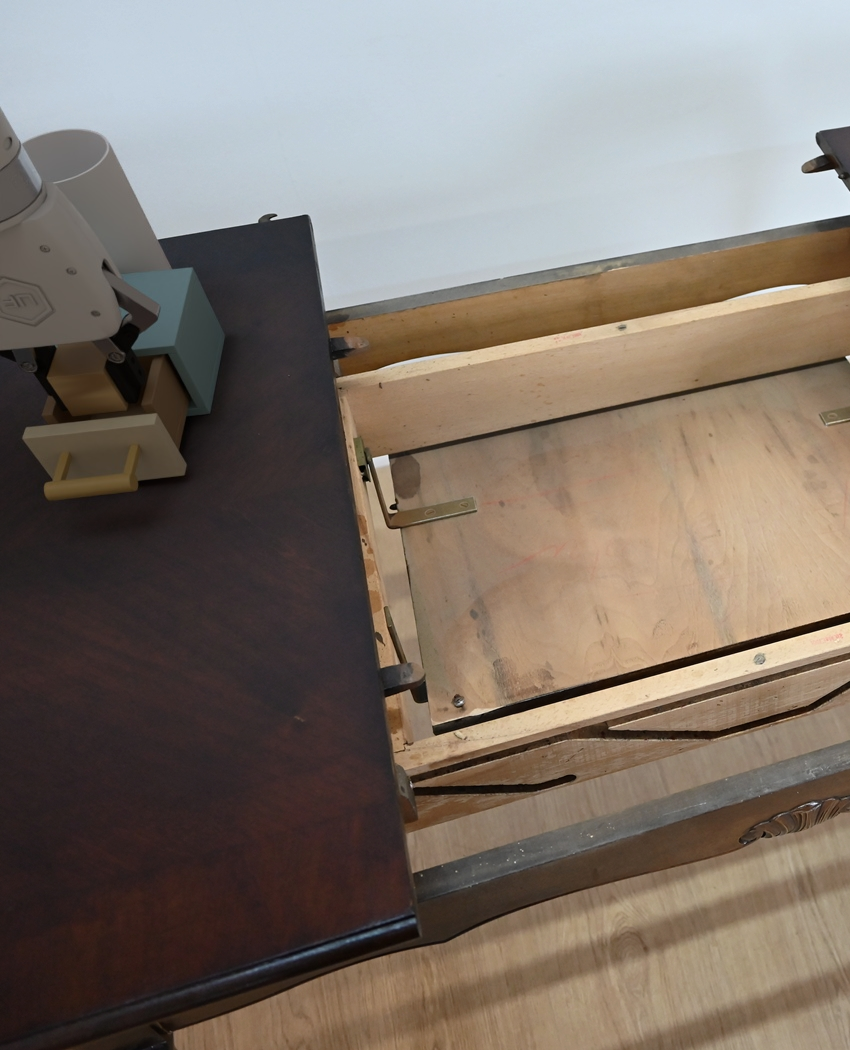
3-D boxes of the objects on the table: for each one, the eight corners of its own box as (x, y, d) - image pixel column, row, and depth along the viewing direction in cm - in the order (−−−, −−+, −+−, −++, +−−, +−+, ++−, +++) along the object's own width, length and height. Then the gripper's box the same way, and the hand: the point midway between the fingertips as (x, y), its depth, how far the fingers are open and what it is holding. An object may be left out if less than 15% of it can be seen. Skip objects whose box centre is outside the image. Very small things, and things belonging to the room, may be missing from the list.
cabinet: (210, 414, 87) (174, 345, 81) (78, 428, 86) (32, 360, 80) (225, 335, 93) (192, 266, 87) (102, 348, 92) (61, 279, 86)
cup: (74, 334, 93) (-23, 177, 81) (127, 279, 98) (42, 122, 86) (155, 349, 92) (69, 191, 79) (204, 291, 97) (130, 135, 84)
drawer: (176, 517, 79) (144, 466, 74) (47, 532, 78) (6, 482, 73) (200, 397, 87) (173, 344, 82) (84, 409, 86) (49, 357, 81)
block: (72, 417, 78) (45, 378, 75) (83, 380, 81) (58, 341, 77) (127, 410, 78) (103, 371, 75) (136, 375, 81) (113, 335, 78)
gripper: (-193, 233, 62) (-24, 443, 76) (97, 206, 64) (210, 416, 78) (-149, 164, 67) (3, 373, 81) (120, 140, 68) (222, 350, 83)
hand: (103, 392), depth 79 cm, fingers closed on block, 4 cm apart
